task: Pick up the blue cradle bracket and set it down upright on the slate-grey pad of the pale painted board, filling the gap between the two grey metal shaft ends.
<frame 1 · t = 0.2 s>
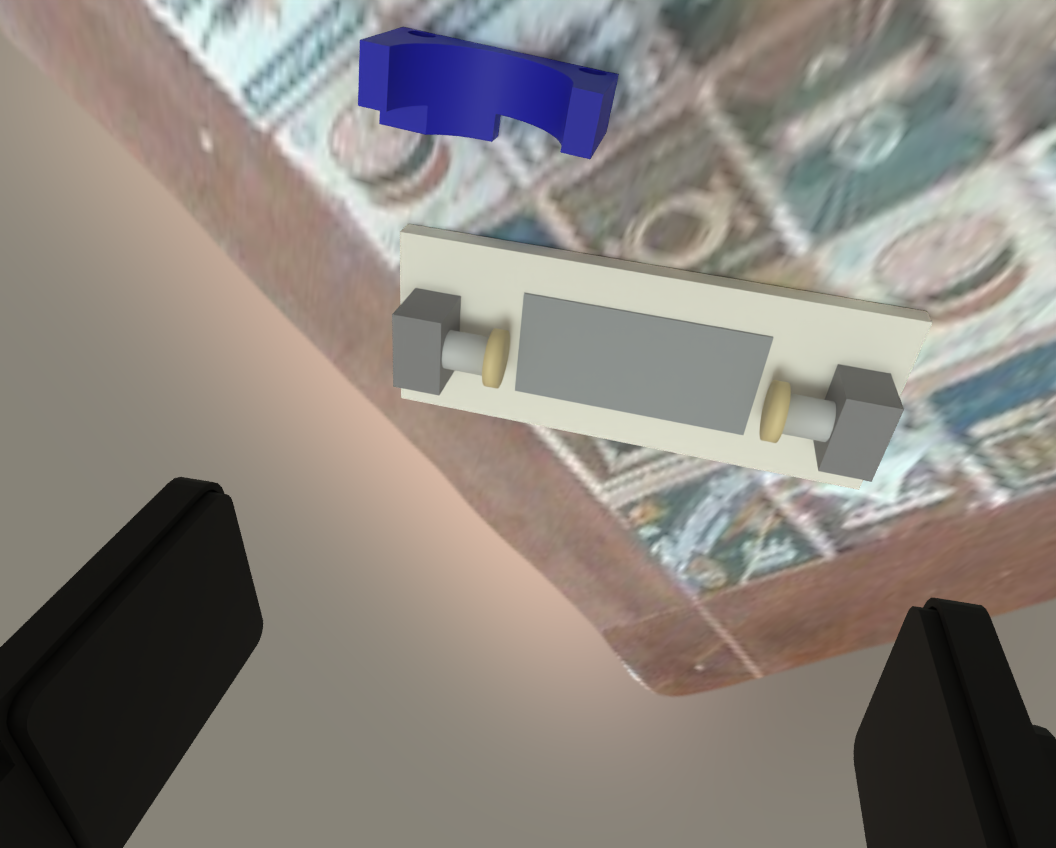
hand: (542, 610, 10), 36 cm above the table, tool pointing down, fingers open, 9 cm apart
blue cradle bracket: (505, 93, 42), on the table
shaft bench: (638, 353, 48), on the table
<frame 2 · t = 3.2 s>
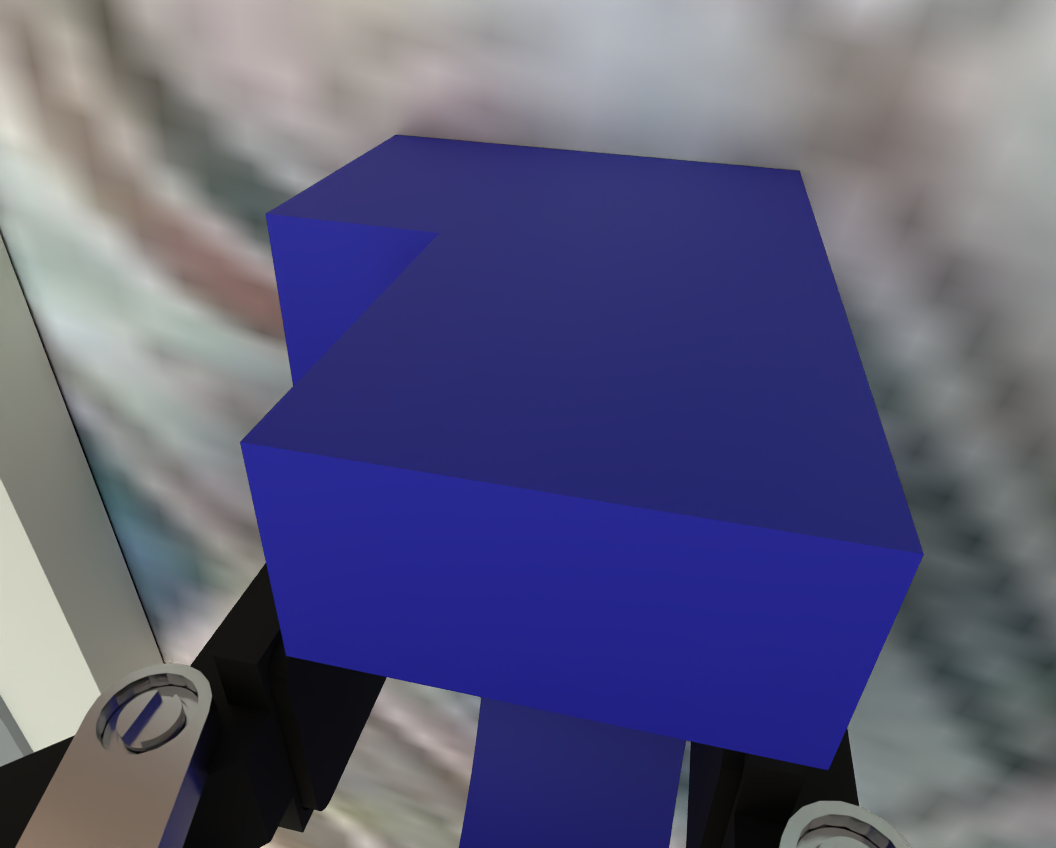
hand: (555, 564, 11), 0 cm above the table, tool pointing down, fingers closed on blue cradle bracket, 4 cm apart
blue cradle bracket: (560, 544, 12), on the table, touching gripper
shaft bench: (5, 750, 19), on the table
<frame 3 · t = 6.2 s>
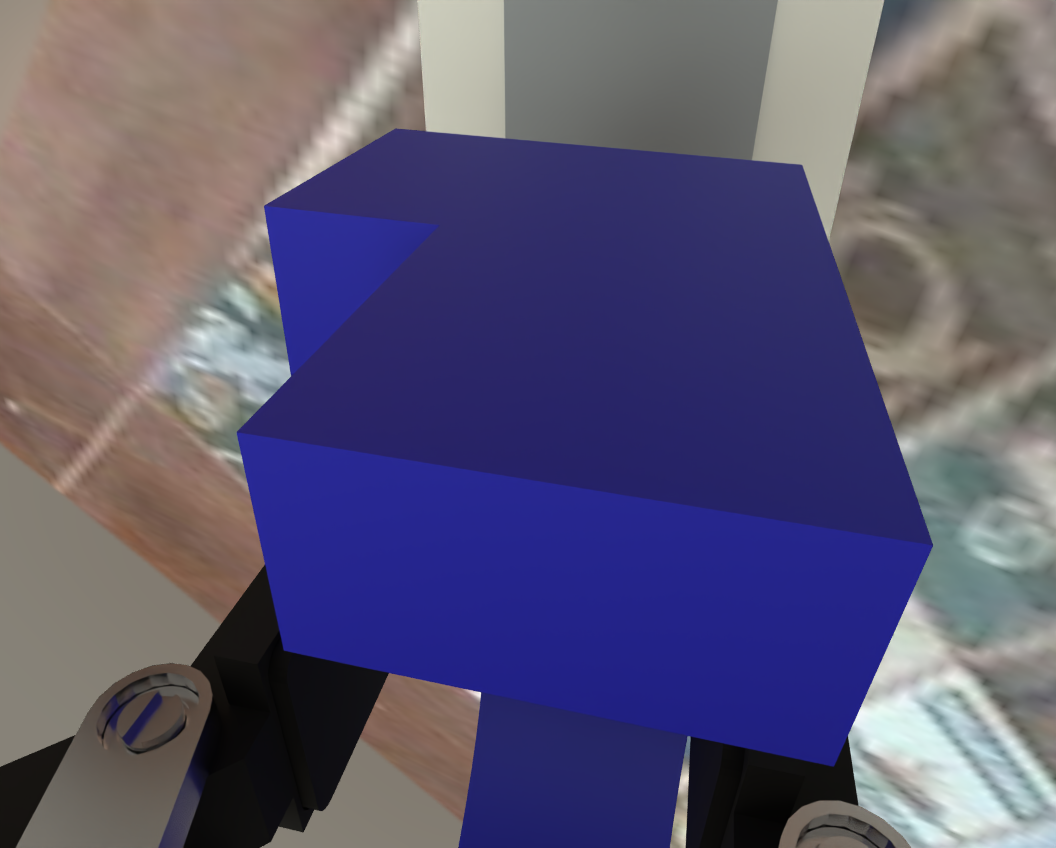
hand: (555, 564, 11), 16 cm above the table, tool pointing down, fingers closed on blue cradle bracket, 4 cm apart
blue cradle bracket: (560, 541, 12), point 15 cm above the table, touching gripper
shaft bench: (623, 250, 25), on the table
when the fingers open (3 cm above the table, at t = 9.0 s): blue cradle bracket drops 1 cm, resting on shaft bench.
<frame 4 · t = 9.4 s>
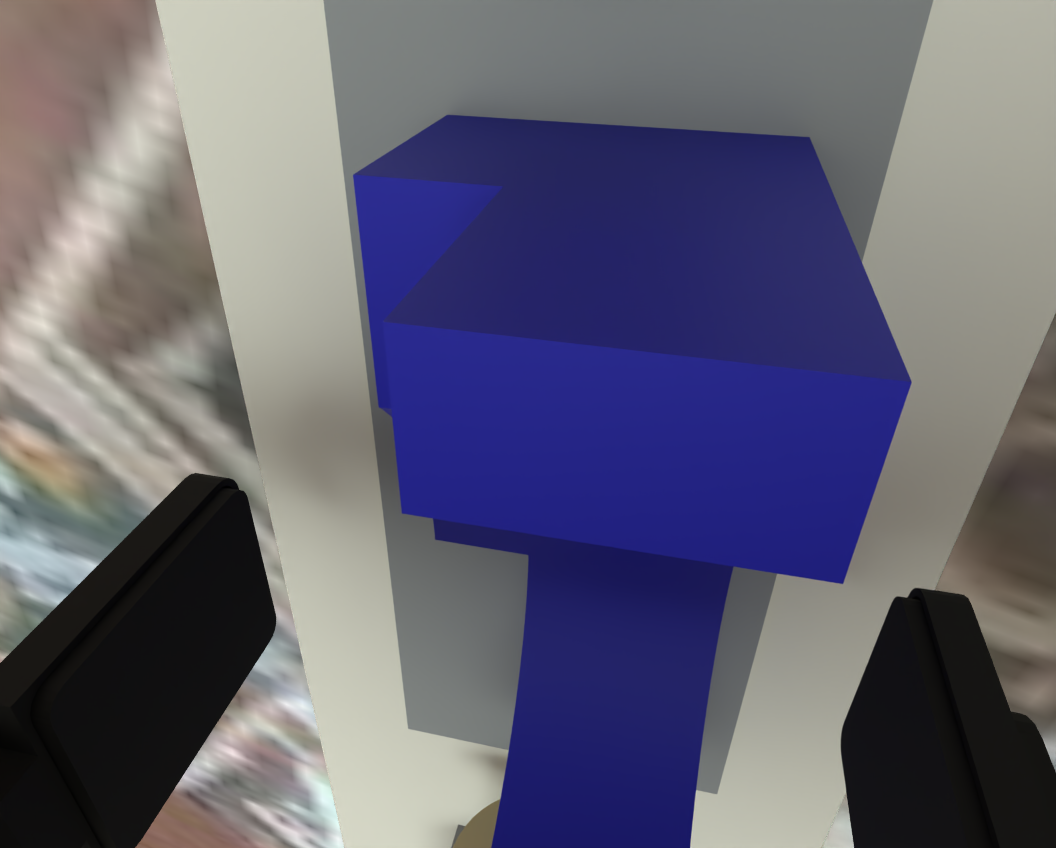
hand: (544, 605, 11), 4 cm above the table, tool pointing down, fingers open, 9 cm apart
blue cradle bracket: (593, 494, 13), point 1 cm above the table, touching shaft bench
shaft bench: (588, 441, 14), on the table
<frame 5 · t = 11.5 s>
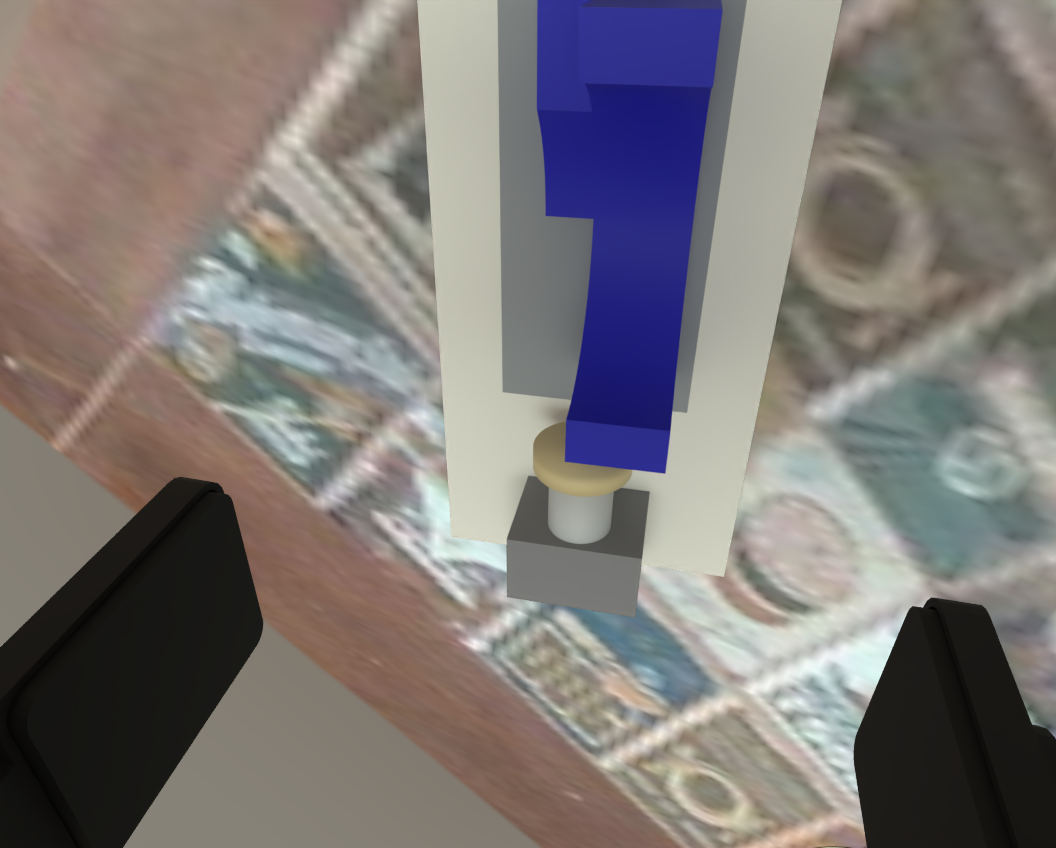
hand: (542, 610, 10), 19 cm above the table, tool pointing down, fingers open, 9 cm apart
blue cradle bracket: (623, 204, 24), point 1 cm above the table, touching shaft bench
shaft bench: (611, 189, 26), on the table
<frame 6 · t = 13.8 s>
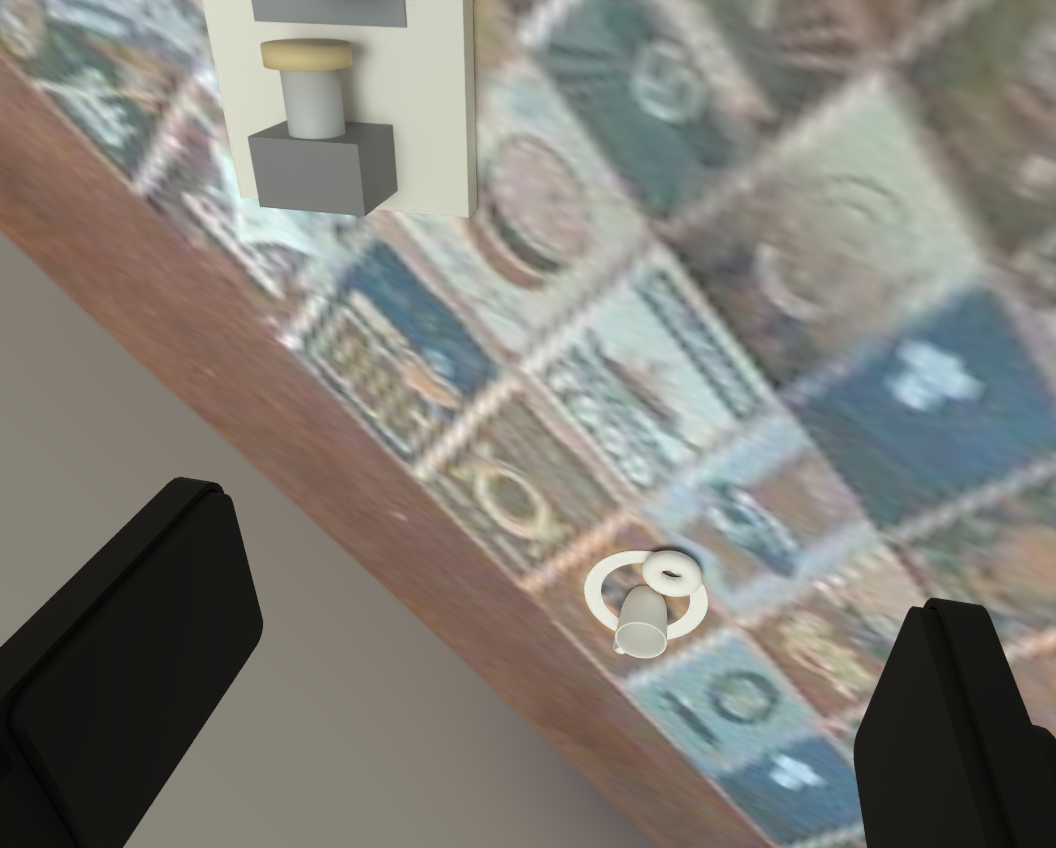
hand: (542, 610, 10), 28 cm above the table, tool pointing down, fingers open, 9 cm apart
teacup and saucer: (693, 595, 49), on the table
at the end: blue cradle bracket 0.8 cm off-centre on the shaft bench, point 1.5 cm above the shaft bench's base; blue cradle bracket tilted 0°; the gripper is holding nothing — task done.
